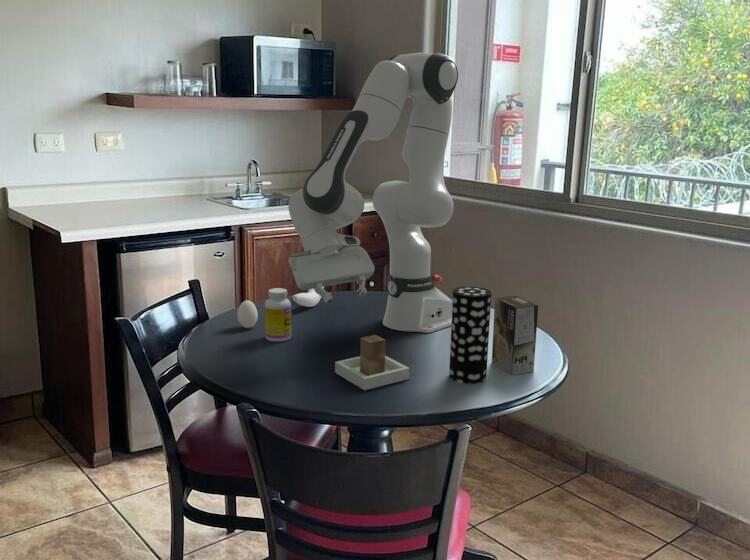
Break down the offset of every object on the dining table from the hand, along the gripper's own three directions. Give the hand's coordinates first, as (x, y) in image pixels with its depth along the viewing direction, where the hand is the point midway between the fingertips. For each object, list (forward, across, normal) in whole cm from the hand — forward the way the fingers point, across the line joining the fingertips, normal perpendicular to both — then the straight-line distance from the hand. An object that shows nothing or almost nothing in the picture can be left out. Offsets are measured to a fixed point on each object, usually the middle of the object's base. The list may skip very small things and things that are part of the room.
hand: (346, 297), depth 167 cm
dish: (+19, -1, +3) cm, 19 cm away
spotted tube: (+28, +17, -6) cm, 33 cm away
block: (+18, -1, +2) cm, 19 cm away
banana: (-20, +16, +43) cm, 50 cm away
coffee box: (+29, +30, -6) cm, 42 cm away
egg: (-14, -9, +35) cm, 39 cm away
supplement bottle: (-5, -6, +27) cm, 28 cm away
